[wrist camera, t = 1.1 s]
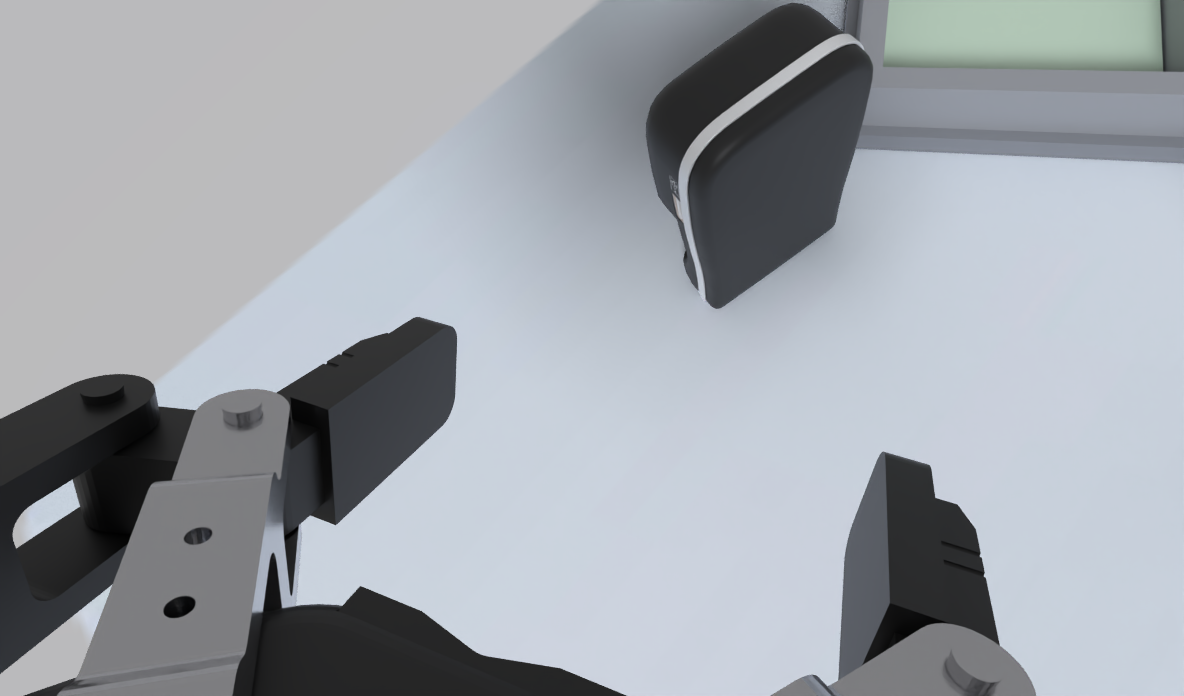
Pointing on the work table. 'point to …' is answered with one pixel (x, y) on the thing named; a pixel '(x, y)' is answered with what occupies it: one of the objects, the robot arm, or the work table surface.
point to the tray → (1024, 77)
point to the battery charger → (759, 146)
